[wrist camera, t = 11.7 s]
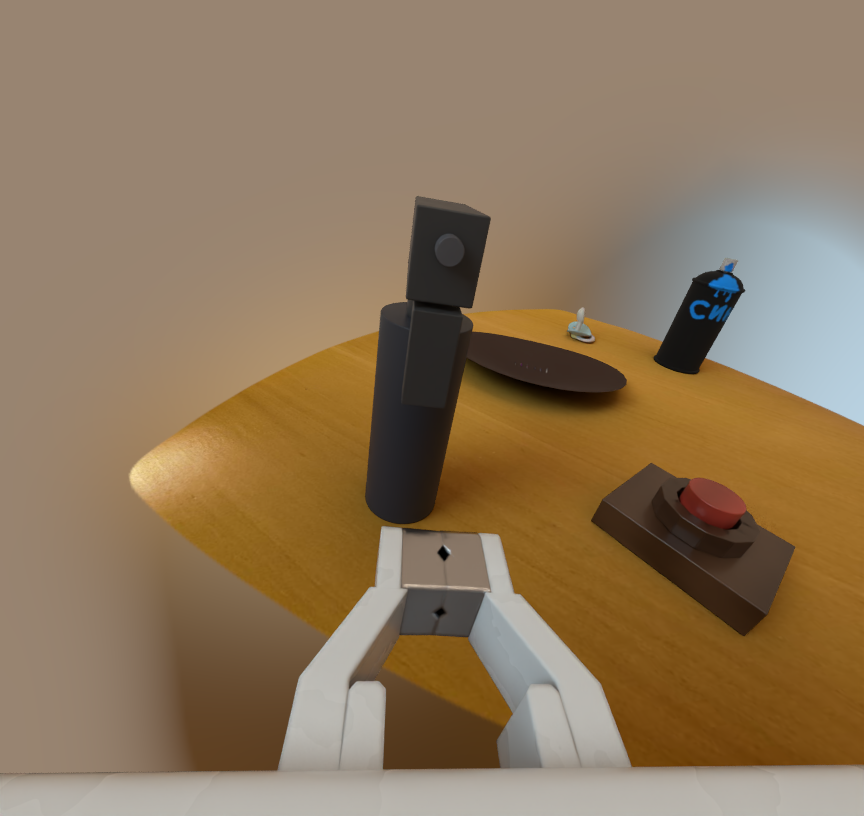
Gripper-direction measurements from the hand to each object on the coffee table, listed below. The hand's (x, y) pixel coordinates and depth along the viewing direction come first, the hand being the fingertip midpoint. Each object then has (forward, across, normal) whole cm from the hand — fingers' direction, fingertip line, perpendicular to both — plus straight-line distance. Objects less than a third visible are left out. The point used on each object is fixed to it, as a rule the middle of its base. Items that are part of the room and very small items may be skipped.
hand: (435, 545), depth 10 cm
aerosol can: (+59, +54, -16) cm, 82 cm away
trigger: (+12, 0, -2) cm, 12 cm away
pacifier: (+68, +38, -16) cm, 79 cm away
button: (+14, +25, -11) cm, 31 cm away
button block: (+14, +25, -15) cm, 33 cm away
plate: (+48, +21, -16) cm, 55 cm away
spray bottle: (+15, 0, -15) cm, 22 cm away
